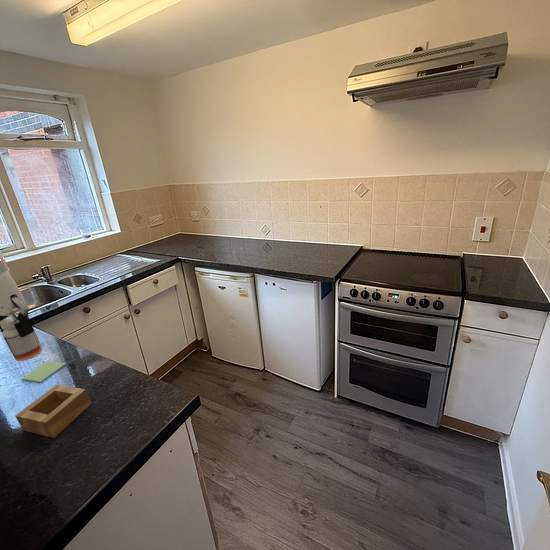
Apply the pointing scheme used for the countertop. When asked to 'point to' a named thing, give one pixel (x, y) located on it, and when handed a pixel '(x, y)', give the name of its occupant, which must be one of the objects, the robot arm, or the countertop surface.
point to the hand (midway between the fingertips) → (18, 332)
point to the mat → (44, 371)
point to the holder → (54, 410)
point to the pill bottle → (20, 341)
